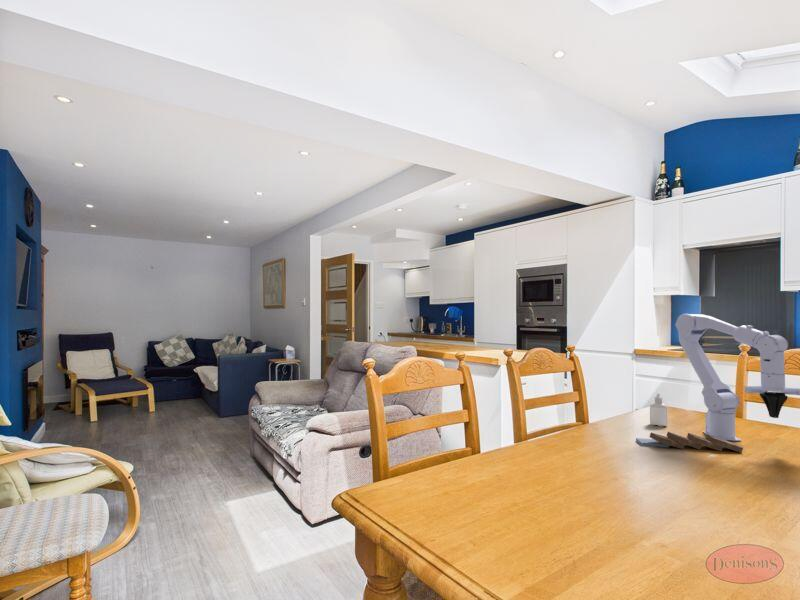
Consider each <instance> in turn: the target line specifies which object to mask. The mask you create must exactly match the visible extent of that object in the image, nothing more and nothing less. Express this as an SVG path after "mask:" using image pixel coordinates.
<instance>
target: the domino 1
mask: <svg viewBox="0 0 800 600" xmlns="http://www.w3.org/2000/svg"><path fill="white" fill-rule="evenodd" d="M636 441H637V442H638V443H637V442H636ZM635 442H636V443H637V444H639V443H640V444H641V445H646V446H645V447H652V446H660V447H659V448H670V445H667V444H663V443H660V442H658V441H656V440H654V439H652V438H641V437H639V438H638V437H636V438H635ZM640 444H639V445H640ZM641 445H640V446H641Z"/></svg>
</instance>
